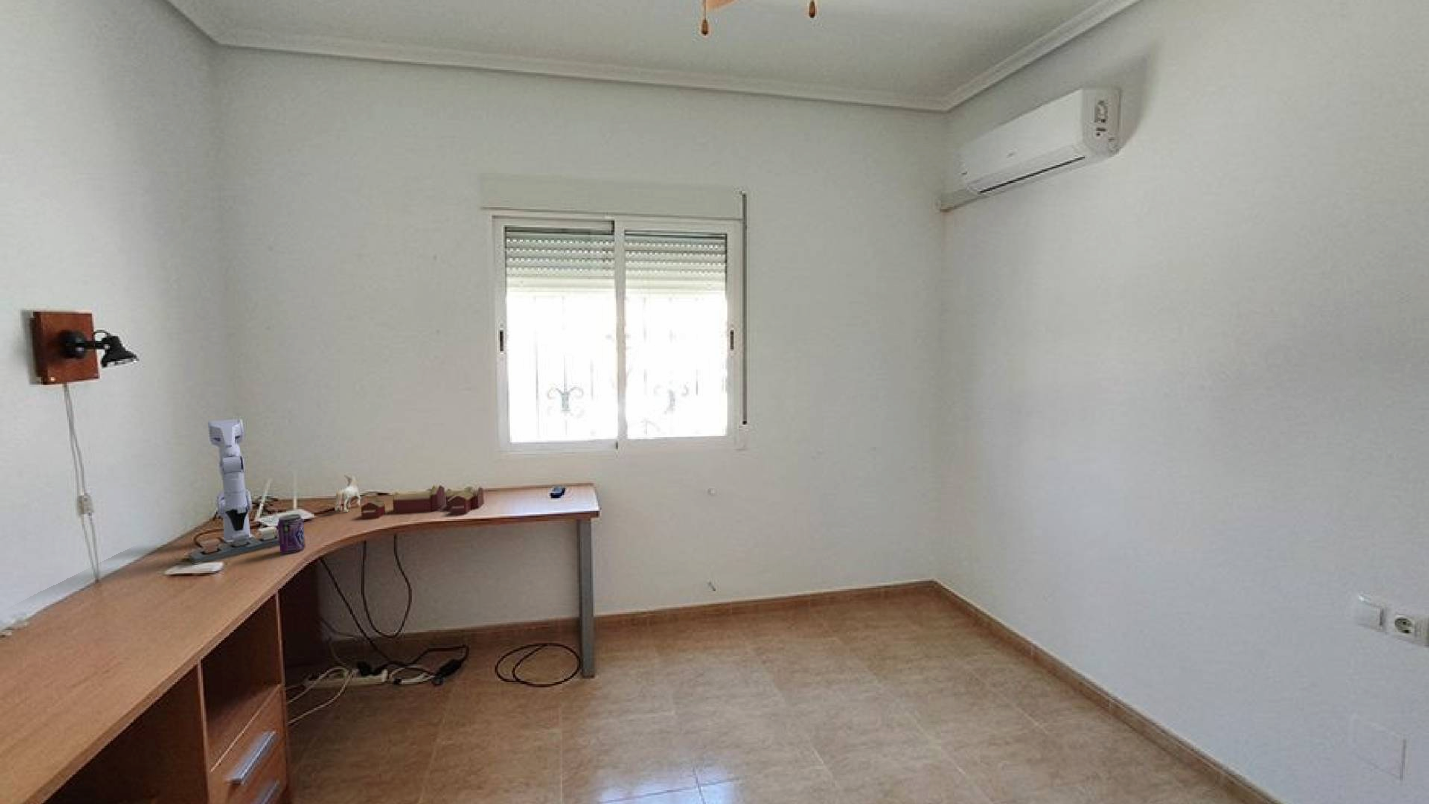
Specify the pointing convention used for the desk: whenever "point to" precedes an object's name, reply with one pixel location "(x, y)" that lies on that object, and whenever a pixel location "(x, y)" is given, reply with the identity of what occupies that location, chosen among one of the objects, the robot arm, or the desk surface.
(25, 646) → the desk surface
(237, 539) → the light grey block
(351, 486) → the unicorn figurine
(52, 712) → the desk surface
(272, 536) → the off-white block
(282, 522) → the beverage can
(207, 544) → the terracotta key
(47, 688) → the desk surface
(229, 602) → the desk surface
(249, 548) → the panel
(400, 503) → the toy houses
